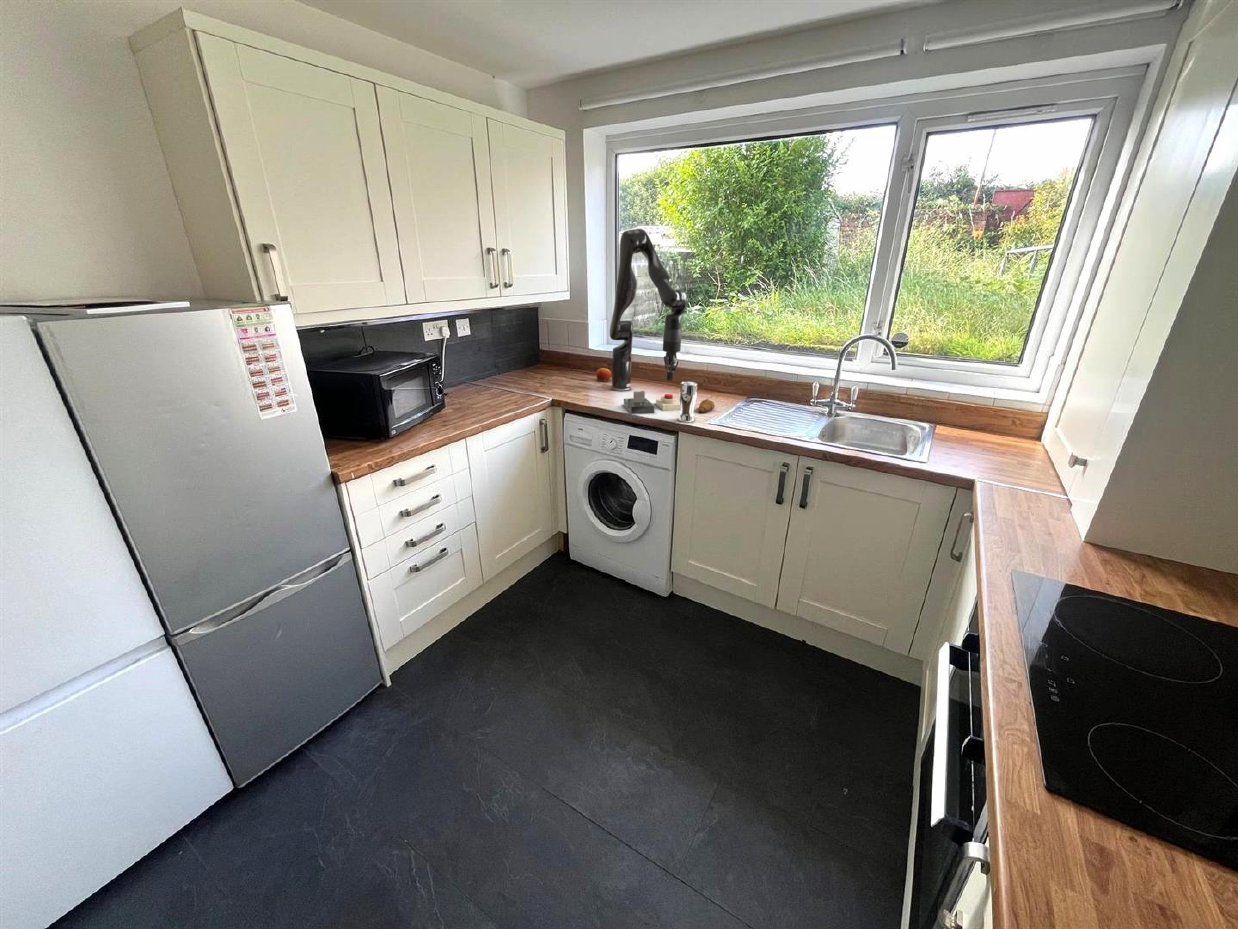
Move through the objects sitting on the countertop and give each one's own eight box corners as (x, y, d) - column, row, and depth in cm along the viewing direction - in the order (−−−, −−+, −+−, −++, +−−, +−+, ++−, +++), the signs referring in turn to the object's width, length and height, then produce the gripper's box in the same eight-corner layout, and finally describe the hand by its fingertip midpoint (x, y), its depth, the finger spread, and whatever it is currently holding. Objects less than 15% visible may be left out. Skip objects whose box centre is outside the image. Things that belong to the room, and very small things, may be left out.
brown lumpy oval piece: (709, 415, 209) (710, 403, 207) (693, 412, 212) (694, 401, 210) (719, 407, 220) (720, 396, 218) (704, 405, 223) (705, 394, 221)
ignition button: (663, 397, 220) (663, 393, 219) (671, 397, 220) (671, 393, 220) (665, 399, 216) (666, 395, 216) (673, 399, 217) (673, 395, 217)
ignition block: (655, 403, 224) (656, 395, 222) (672, 403, 226) (673, 394, 224) (663, 410, 214) (663, 401, 212) (680, 409, 216) (681, 400, 214)
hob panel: (623, 405, 220) (623, 398, 219) (645, 404, 222) (645, 397, 221) (631, 413, 208) (631, 406, 206) (654, 412, 210) (654, 405, 209)
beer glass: (674, 419, 201) (676, 383, 195) (684, 416, 206) (687, 380, 200) (688, 423, 196) (691, 385, 191) (698, 420, 201) (701, 383, 196)
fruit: (594, 379, 261) (595, 365, 263) (596, 384, 269) (598, 370, 270) (609, 380, 260) (610, 366, 261) (611, 385, 268) (612, 371, 269)
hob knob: (633, 402, 213) (634, 391, 211) (633, 401, 214) (633, 390, 212) (644, 402, 214) (644, 391, 212) (643, 401, 215) (643, 390, 213)
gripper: (658, 337, 214) (656, 377, 221) (668, 342, 203) (666, 384, 209) (675, 337, 216) (672, 376, 223) (686, 341, 204) (682, 383, 211)
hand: (669, 380), depth 216 cm, fingers closed
